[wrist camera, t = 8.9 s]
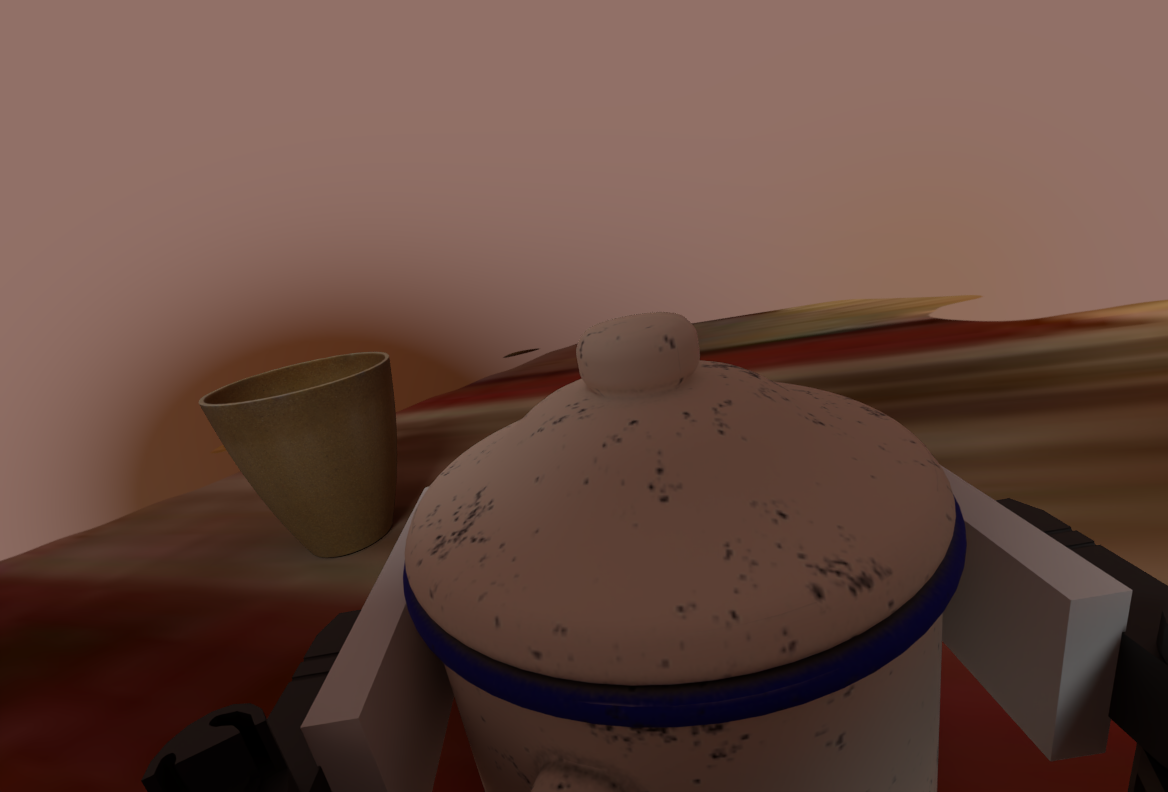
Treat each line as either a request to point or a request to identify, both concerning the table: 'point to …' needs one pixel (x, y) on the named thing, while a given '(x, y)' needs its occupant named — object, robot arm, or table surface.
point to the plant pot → (317, 446)
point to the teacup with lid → (690, 582)
